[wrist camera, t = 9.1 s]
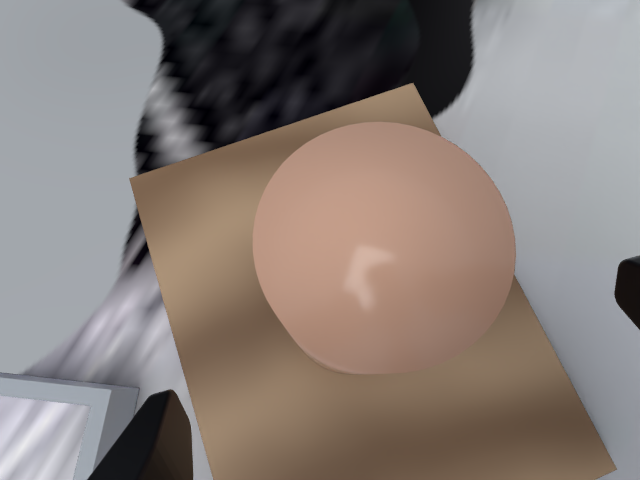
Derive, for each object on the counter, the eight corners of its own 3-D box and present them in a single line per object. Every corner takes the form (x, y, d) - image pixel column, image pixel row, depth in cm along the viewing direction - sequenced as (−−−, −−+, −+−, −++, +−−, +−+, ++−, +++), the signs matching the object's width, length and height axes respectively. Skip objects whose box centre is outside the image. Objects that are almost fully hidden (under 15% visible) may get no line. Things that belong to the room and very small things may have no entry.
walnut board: (600, 464, 17) (617, 469, 16) (260, 619, 16) (257, 635, 15) (408, 95, 22) (412, 83, 21) (138, 187, 21) (129, 178, 20)
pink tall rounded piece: (404, 384, 17) (513, 394, 8) (278, 364, 17) (227, 349, 8) (415, 261, 19) (518, 138, 9) (298, 244, 19) (277, 107, 9)
